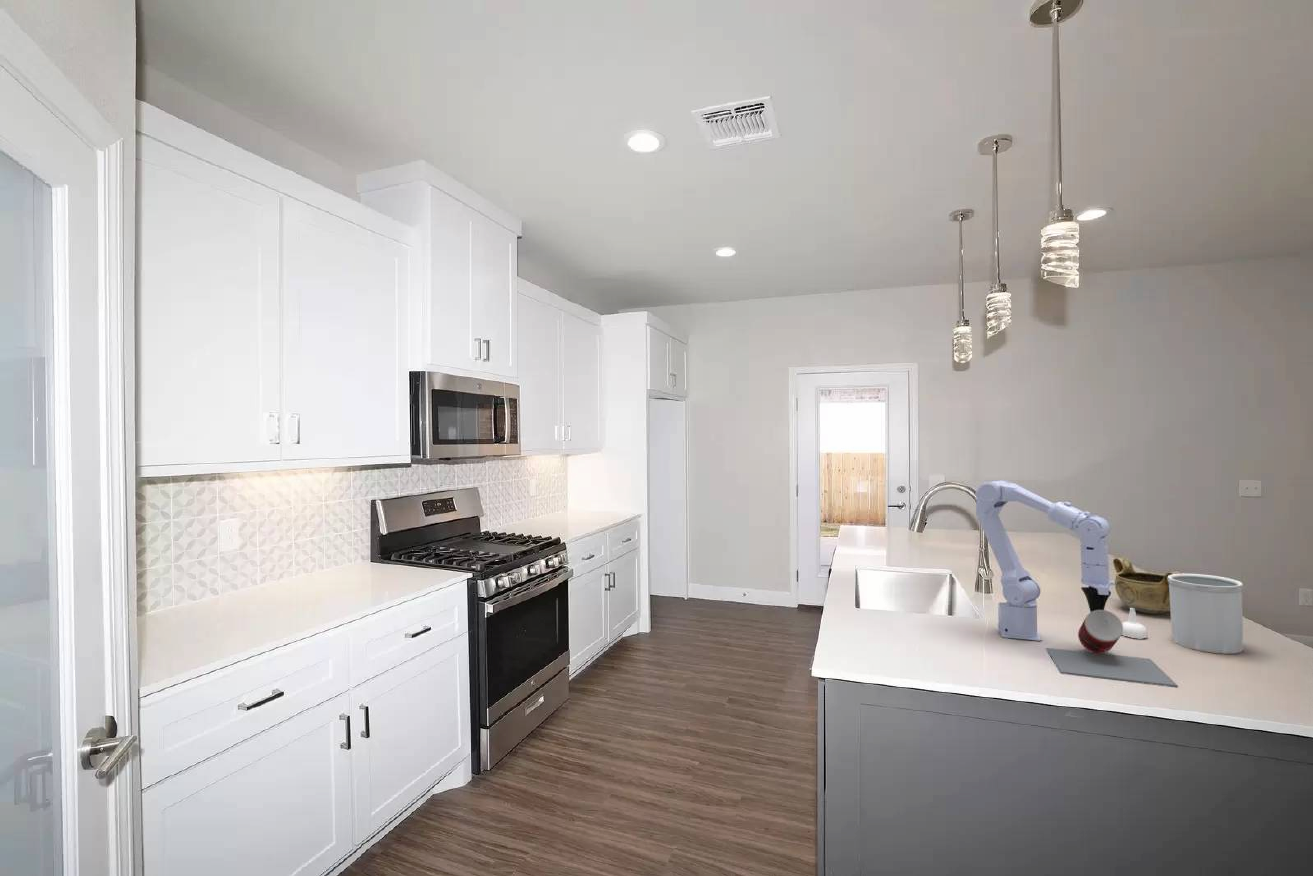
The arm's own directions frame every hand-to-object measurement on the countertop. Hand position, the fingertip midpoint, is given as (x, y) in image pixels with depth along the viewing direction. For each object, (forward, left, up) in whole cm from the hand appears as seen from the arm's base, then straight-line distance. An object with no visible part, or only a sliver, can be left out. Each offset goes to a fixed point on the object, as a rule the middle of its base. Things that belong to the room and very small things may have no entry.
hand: (1096, 616), depth 153 cm
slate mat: (0, -9, -10) cm, 13 cm away
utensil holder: (+28, +17, -10) cm, 34 cm away
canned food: (0, +2, -7) cm, 7 cm away
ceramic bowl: (+25, +48, -10) cm, 55 cm away
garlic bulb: (+13, +19, -10) cm, 25 cm away
